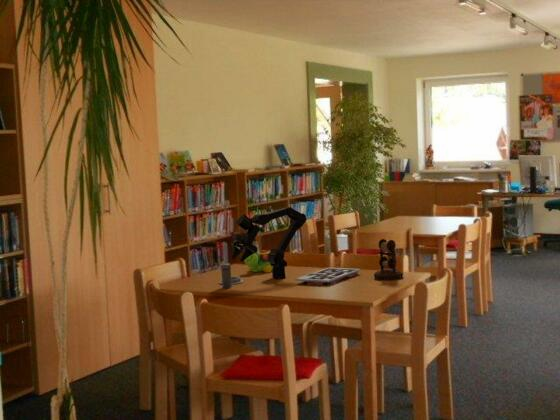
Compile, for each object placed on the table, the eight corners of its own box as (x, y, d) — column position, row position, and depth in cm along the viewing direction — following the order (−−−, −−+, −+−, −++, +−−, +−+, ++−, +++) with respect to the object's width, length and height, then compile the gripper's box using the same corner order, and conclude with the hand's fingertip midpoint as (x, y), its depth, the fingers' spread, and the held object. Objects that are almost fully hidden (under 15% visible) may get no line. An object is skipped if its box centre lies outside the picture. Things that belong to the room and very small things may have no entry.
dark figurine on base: (409, 277, 402) (407, 238, 401) (386, 281, 395) (384, 242, 393) (390, 274, 415) (388, 236, 413) (368, 278, 407) (366, 240, 406)
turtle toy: (237, 273, 448) (235, 253, 447) (264, 267, 466) (262, 247, 465) (259, 275, 437) (257, 254, 436) (286, 269, 455) (284, 248, 454)
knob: (232, 286, 409) (230, 262, 408) (232, 288, 403) (230, 264, 402) (222, 287, 408) (220, 263, 407) (222, 288, 403) (220, 265, 402)
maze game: (328, 273, 432) (328, 267, 432) (360, 274, 421) (360, 268, 421) (295, 285, 403) (294, 278, 403) (328, 286, 392) (328, 280, 392)
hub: (243, 279, 427) (243, 275, 427) (243, 283, 414) (243, 279, 414) (219, 281, 426) (219, 277, 426) (218, 285, 413) (218, 281, 413)
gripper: (231, 226, 419) (216, 251, 415) (248, 228, 404) (233, 254, 400) (246, 237, 425) (232, 261, 421) (264, 239, 409) (249, 265, 405)
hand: (236, 260), depth 411 cm, fingers open, 9 cm apart
